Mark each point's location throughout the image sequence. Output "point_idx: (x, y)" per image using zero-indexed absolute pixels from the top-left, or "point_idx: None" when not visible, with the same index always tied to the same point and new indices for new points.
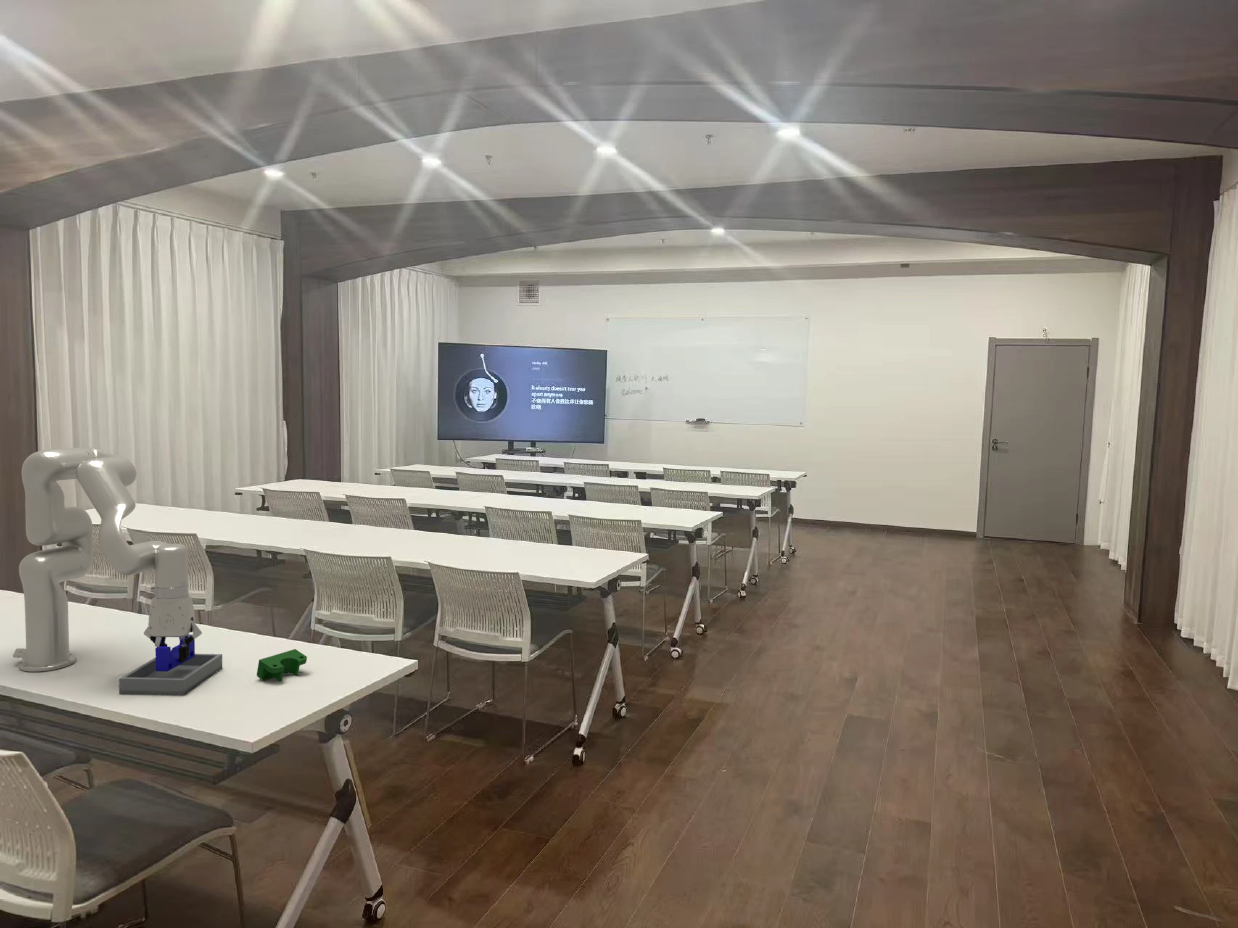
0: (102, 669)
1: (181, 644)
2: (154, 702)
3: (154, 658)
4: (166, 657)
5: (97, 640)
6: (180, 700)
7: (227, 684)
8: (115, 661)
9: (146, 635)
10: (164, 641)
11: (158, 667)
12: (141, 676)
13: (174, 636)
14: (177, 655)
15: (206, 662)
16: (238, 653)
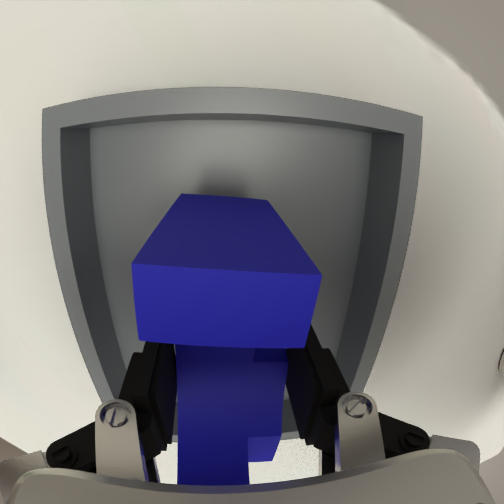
0: (467, 340)
1: (131, 421)
2: (172, 22)
3: (360, 389)
4: (165, 221)
5: (463, 433)
6: (76, 63)
7: (12, 257)
8: (446, 386)
9: (455, 442)
10: (321, 451)
11: (248, 202)
12: (362, 264)
13: (145, 487)
14: (223, 387)
15: (101, 370)
16: (171, 466)
